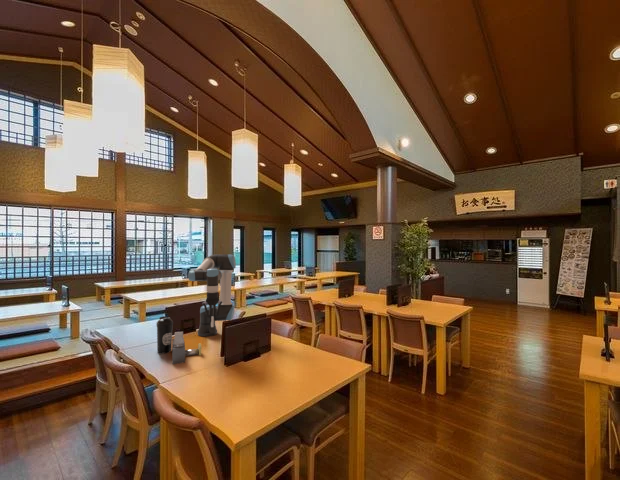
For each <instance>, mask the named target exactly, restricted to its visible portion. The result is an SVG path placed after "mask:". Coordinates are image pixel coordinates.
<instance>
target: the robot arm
mask: <svg viewBox="0 0 620 480" xmlns="http://www.w3.org/2000/svg"><path fill="white" fill-rule="evenodd" d="M235 257H236V256H235V255H234V254H230V253H229V254H227V253H226V254H225V253H223V254H217V253H216V254H211V255H209V256H207V257H205V258H203V260H202V262H201V264H199V266H197V268H196V269H193V270H192V269H191V270H189V271H188V277H187V278H188V280H189V281H191V282H206V299H205V301H203V302H202V306H200V310H199V327H198V331H197V335H198V337H212V336H215V335H217V334H218V329H217V326H216V322H222V321H223V322H224V321H225V322H227V321H226V320H230V321H232V320H233V318H234V315H235V306H234V305H233V303H232V273H234V269H236V268H237V267H236V266H237V265H236V264H237V263H236V258H235ZM219 281H220V287H219ZM219 288H220V289H219ZM219 291H220V295H219ZM219 296H220V297H219ZM216 305H217V306H216ZM231 319H232V320H231Z"/></svg>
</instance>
